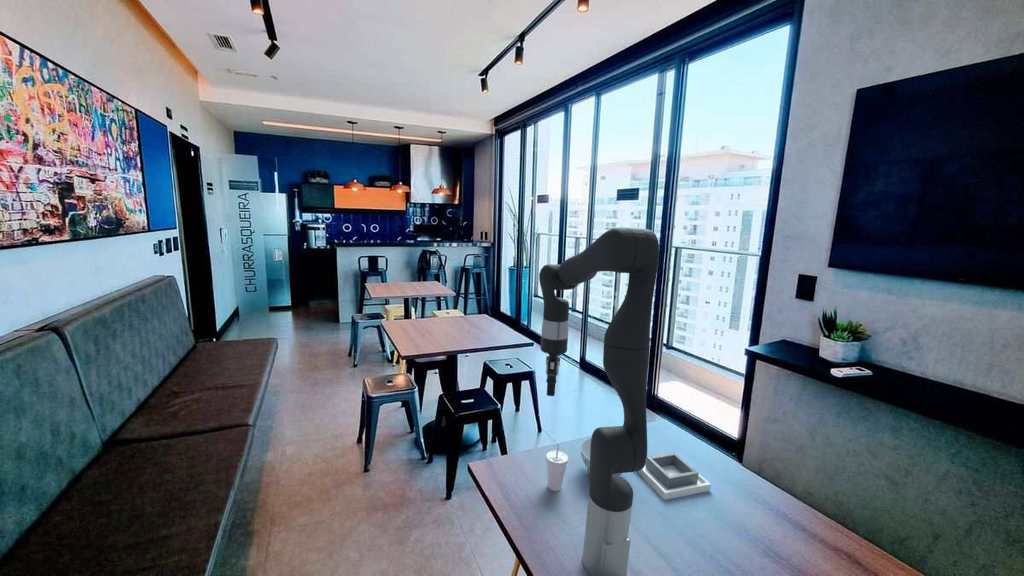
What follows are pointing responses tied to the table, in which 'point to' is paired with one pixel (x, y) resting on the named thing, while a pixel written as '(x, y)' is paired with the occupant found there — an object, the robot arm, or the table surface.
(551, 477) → the smoothie
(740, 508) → the table surface
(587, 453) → the chinaware
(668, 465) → the white square tray
